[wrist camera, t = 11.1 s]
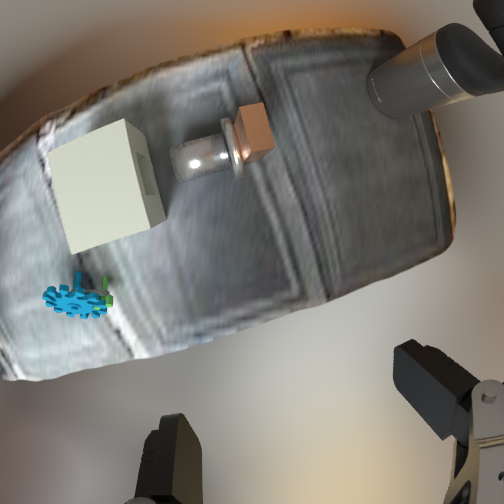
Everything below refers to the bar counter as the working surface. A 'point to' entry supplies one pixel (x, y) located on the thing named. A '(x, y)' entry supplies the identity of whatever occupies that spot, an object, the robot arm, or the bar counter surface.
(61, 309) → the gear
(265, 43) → the bar counter surface
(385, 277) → the bar counter surface
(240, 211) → the bar counter surface
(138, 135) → the block
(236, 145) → the wood and metal l-shape
